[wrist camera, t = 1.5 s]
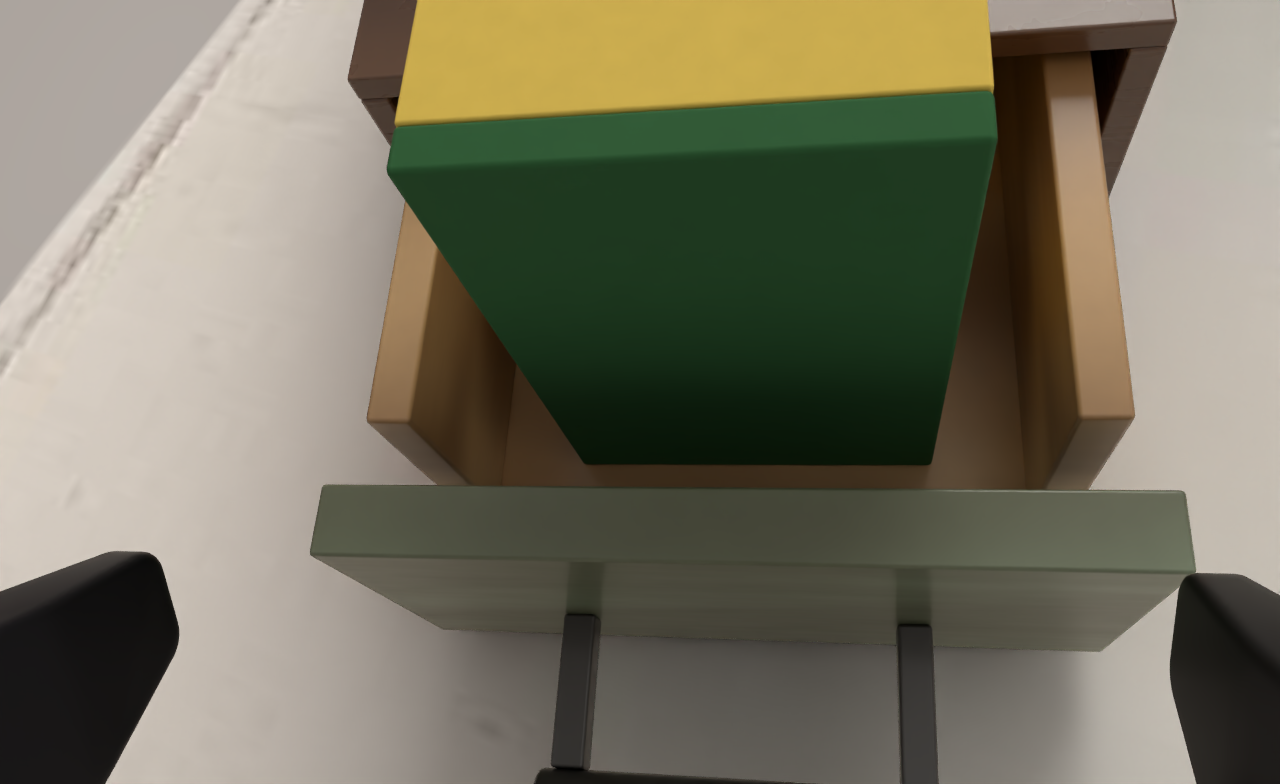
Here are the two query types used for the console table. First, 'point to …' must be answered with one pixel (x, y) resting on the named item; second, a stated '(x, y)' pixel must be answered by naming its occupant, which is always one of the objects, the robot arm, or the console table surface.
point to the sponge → (710, 212)
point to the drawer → (794, 474)
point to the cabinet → (1019, 25)
